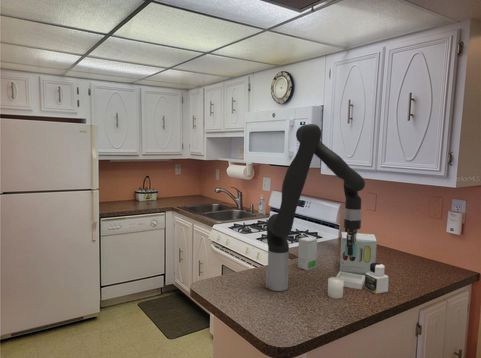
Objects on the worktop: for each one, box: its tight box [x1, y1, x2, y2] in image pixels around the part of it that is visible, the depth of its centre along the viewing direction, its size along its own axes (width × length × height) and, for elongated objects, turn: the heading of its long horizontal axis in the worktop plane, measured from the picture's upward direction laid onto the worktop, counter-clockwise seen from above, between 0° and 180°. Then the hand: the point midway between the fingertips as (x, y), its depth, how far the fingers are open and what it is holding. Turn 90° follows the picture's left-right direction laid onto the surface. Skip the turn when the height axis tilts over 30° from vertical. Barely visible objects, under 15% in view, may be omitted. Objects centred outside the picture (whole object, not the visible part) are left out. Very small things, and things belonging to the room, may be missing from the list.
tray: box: [335, 270, 365, 290], centre depth 167 cm, size 12×12×3 cm
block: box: [345, 243, 358, 257], centre depth 166 cm, size 5×5×5 cm
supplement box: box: [339, 231, 378, 275], centre depth 185 cm, size 17×13×18 cm
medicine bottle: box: [364, 262, 389, 294], centre depth 159 cm, size 7×7×12 cm
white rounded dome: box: [327, 276, 344, 299], centre depth 152 cm, size 6×6×7 cm
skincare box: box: [297, 236, 318, 271], centre depth 187 cm, size 8×7×16 cm
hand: (351, 253), depth 166 cm, fingers closed on block, 5 cm apart
